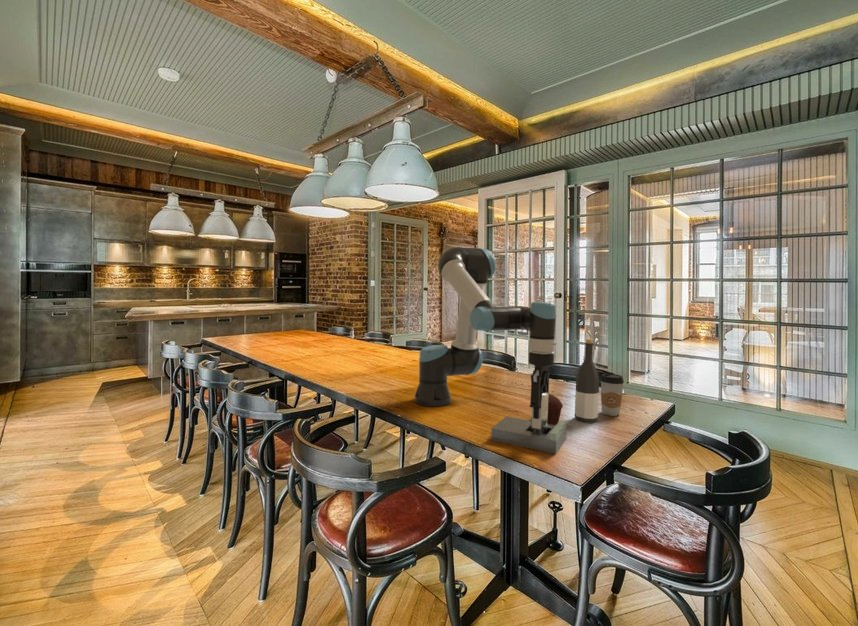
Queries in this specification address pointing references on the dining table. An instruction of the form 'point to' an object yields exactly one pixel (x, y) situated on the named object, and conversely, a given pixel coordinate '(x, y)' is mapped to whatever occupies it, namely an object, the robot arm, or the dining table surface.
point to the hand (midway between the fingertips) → (538, 425)
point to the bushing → (544, 415)
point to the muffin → (553, 410)
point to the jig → (529, 434)
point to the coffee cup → (611, 393)
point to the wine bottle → (587, 388)
